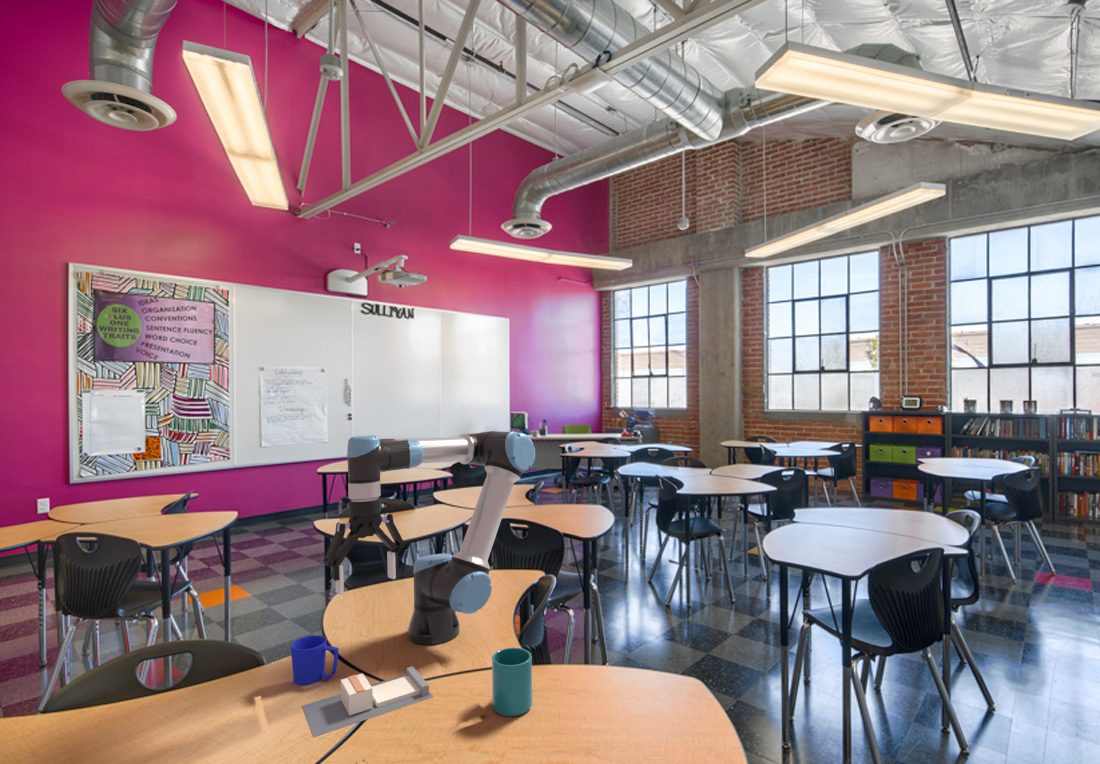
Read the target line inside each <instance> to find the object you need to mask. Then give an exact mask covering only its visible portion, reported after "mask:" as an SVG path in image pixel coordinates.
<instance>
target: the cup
mask: <svg viewBox="0 0 1100 764" xmlns="http://www.w3.org/2000/svg"><path fill="white" fill-rule="evenodd" d="M532 657H533V656H532V653H531V652H530V651H529V650H527V649H525V648H522V647H507V648H503V649H500V650H498V651H496V652H494V654H493V655H492V657H491V673H492V674H491V675H492V676H491V677H492V679H491V681H492V682H491V683H492V684H491V686H492V689H491V690H492V693H491V694H492V709H493V710H494V711H495V712H496V713H497V714H499V715H500V716H504V717H518V716H521V715H523V714H525V713H527V712H528V711H529V710H530V709H531V708H532V705H533V667H532V666H533V664H532V663H533V661H532V660H533V659H532Z"/></svg>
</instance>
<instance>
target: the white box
mask: <svg viewBox="0 0 1100 764" xmlns="http://www.w3.org/2000/svg"><path fill="white" fill-rule="evenodd" d="M371 685H372V684H370V682H369V680H368V679H367V677H366V675H364V673H360V674H353V675H349V676H348V677H346V678H342V679H340V694H341V701H342V703H343V705H344V706H345V708H346V710H347V712H348V714H349V716H350V715H353V714H356V713H359V712H362V711H366V710H369V709H372V708H373V688H372V687H371Z"/></svg>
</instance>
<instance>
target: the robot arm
mask: <svg viewBox="0 0 1100 764" xmlns="http://www.w3.org/2000/svg"><path fill="white" fill-rule="evenodd" d="M346 457H347V477H348V478H347V479H348V480H347V482H348V483H347V484H348V485H347V486H348V488H347V490H348V492H347V493H348V494H347V495H348V499H349V501H348V517H349V519H348V522H341V521H340V522H337V523H336V524H335V533H334V535H333V537H332V539H331V541H330V544H329V546H328V549H327V550H326V554H325V555H324V558H323V560H322V564H323V565H325V566H327V567H330V568H331V579H332V580H333V581H335V593H336V594H338V595H340V596H342V595H344V594H345V584H344V581H345V580H344V566H343V565H341V564H342V563H343V561H344V560H345V558H346V556H347V555H348V554H349V552H350V551H351V550H352V548H353V546H354V544H355V543H356V542H358V540H359V539H365V538H367V537H374V535H376V537H377V538H379V540H380V541H381V542H382V543H383V544H384V545H385V546H386V547H387V548H388V549H389V550H388V551H386V553H387V554H386V558H387V560H386V561H387V563H386V564H387V577H388V578H389V579H392V580H395V579H397V576H396V575H397V571H396V570H397V569H396V565H397V564H398V563H399V553H400V552H401V549H402V548H403V549H404V548H405V546H406V544H405V542H404V539H403V538H402V535H401V534H400V532H399V530H398V528H397V526H396V524H395V522H394V516H393V514H392V513H389V512H385V513H383V515H381V512H382V500H381V497H380V496H381V473H383V472H385V473H386V472H391V471H399V470H410V469H411V468H416V467H419V466H420V465H421V464H433V463H434V464H436V463H450V462H451V463H453V462H454V463H455V462H458V463H460V464H462V465H477V466H482V467H484V471H485V472H486V478H485V480H484V482H483V484H482V488H481V491H480V493H479V496H478V499H477V501H476V505H475V508H474V511H473V513H472V515H471V518H470V522H469V525H468V527H467V530H466V533H465V535H464V538H463V542H462V543H461V547H460V549H459V551H458V552H457V553H454V554H451V553H436V554H429V555H426V556H422V557H419V558H417V559H416V560H415V561H414V564H413V611H412V614H411V615H412V616H411V618H410V621H409V625H408V628H407V638H408V639H409V641H411V642H413V643H414V644H419V645H436V644H437V645H439V644H441V643H446V642H449V641H451V640H453V639H455V638H457V636H459V634H460V622H459V619H458V615H457V613H461V614H465V615H470V614H474V613H477V612H478V611H479V610H481V609H483V607H484V606H485V605H486V604H487V602H488V601H489V599H490V597H491V594H492V590H493V584H492V579H491V578H490V576H489V574H490V570H491V566H490V564H489V561H488V560H489V557H490V554H491V551H492V549H493V548H492V547H493V545H494V542H495V540H496V537H497V533H498V530H499V527H500V524H501V523H502V522H501V521H502V519H503V516H504V512H505V510H506V507H507V503H508V501H509V499H510V495H511V492H512V489H513V486H514V484H515V483H517V482H519V481H520V480H521V477H522V475H523V472H525V471H526V472H527V471H528V470H529V469H531V468H532V466H533V464H534V463H535V459H536V448H535V446H534V442H533V440H532V438H531V437H530V436H529V435H527V434H526V433H524V432H518V431H494V430H491V431H490V430H488V431H484V432H483V431H482V432H481V431H480V432H474V433H464V434H460V435H459V436H458V437H457V436H456V437H453V436H452V437H410V438H409V437H408V438H407V437H406V438H405V437H404V438H403V437H401V438H398V437H397V438H380V437H379V436H378V435H374V434H373V435H370V434H369V435H357V436H356V435H355V436H352V437H349V439H348V441H347V453H346ZM382 523H384V524H385V527H386V528H387V531H388V533H389V534H390V536H391V538H392V539H391V538H390V537H389V536H388V535H387V534H386V533H385V532H384V530H383V529H382V528H381V527H380V526H381V524H382ZM348 530H350V531H349V532H348V534H347V535H346V539H345V540H344V542H343V539H344V537H345V533H346V532H347V531H348ZM342 542H343V543H342ZM456 612H457V613H456Z"/></svg>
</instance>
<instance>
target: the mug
mask: <svg viewBox="0 0 1100 764" xmlns="http://www.w3.org/2000/svg"><path fill="white" fill-rule="evenodd" d="M327 641H328V640H327V638H326V637H325V636H324V635H308V636H304V637H300V638H298V639H296V640H295V641H293V642H292V643H291V645H290V652H291V653H290V655H291V665H292V677H293V678H292V679H293V683H294V684H295V685H296V686H310V685H314V684H316V683H318V682H320V681H321V680H323V679H324V680H329V679H331V678H333V677H334V676H335V674H336V671H337V668H338V663H339V652H340V651H339V650H340V649H339V647H338V646H331V645H327V644H328V643H327ZM327 651H329V652H333V664H332V665H333V666H332V670H331V673H330V674H326V673H325V669H326V668H325V667H326V655H327Z"/></svg>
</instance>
